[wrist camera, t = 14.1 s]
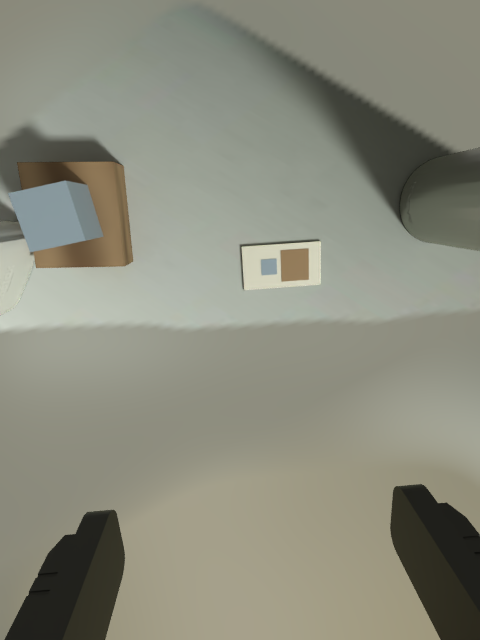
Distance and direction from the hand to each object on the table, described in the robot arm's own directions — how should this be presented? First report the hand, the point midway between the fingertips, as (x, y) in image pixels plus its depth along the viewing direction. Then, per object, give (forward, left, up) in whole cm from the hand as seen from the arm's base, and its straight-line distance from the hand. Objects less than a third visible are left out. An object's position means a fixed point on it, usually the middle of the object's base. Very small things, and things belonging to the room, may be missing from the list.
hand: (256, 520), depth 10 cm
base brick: (+15, -9, -34) cm, 38 cm away
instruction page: (-6, -2, -33) cm, 34 cm away
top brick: (+15, -9, -30) cm, 34 cm away
